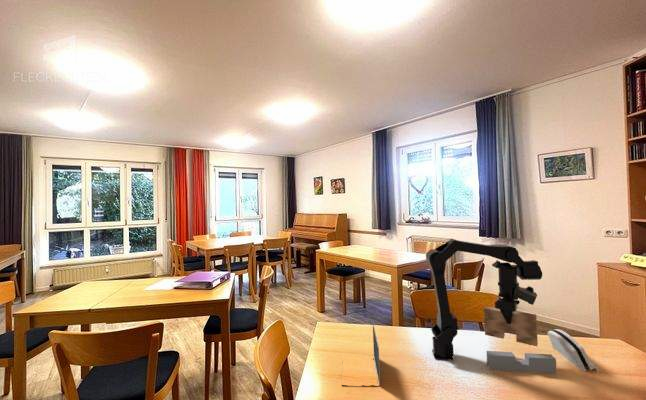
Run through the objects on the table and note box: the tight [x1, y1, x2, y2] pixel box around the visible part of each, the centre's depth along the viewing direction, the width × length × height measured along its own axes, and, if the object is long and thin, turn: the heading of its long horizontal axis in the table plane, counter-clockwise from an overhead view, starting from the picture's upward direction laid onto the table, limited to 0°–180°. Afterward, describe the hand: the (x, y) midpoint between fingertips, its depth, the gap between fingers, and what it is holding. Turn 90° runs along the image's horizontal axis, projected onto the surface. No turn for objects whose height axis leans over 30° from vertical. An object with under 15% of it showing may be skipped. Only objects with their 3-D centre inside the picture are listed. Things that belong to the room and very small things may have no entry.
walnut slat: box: [483, 305, 539, 347], centre depth 108 cm, size 16×3×10 cm, turn 51°
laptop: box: [372, 324, 381, 386], centre depth 103 cm, size 18×12×13 cm
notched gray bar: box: [486, 350, 558, 375], centre depth 100 cm, size 20×3×5 cm, turn 78°
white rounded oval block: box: [546, 328, 599, 373], centre depth 106 cm, size 17×5×10 cm, turn 170°
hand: (509, 322), depth 108 cm, fingers closed on walnut slat, 3 cm apart
